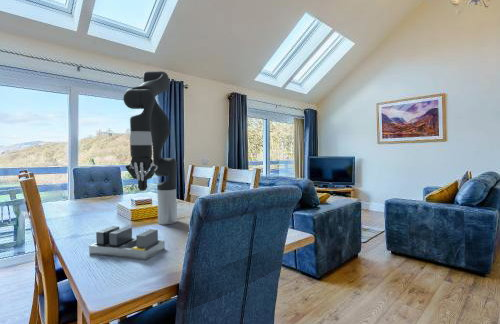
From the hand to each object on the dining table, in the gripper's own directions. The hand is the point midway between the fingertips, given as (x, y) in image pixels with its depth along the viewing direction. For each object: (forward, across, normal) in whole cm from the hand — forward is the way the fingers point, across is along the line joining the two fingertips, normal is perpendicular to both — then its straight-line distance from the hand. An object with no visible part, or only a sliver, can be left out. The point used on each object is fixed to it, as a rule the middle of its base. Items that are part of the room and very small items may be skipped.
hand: (142, 190), depth 103 cm
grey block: (+21, -5, +6) cm, 22 cm away
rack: (+22, +3, +5) cm, 22 cm away
